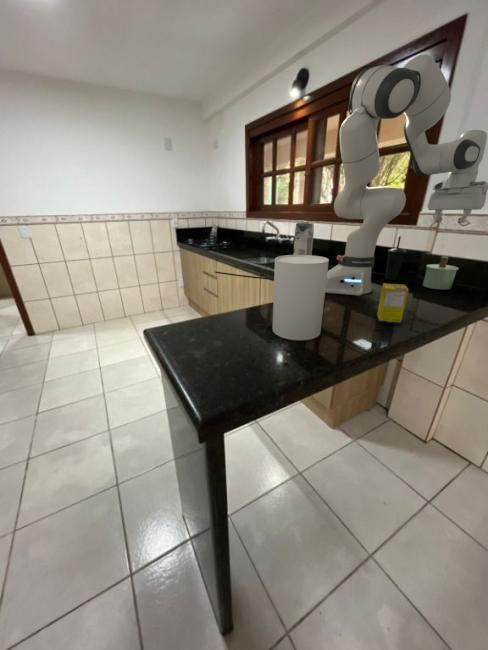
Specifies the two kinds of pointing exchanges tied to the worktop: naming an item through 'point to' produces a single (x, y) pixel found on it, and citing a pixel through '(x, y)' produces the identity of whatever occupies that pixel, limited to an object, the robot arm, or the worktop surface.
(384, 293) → the supplement box
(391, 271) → the drinking cup
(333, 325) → the worktop surface
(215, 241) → the worktop surface
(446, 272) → the pot
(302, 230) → the juice carton
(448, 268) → the lid
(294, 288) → the canister
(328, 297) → the worktop surface
